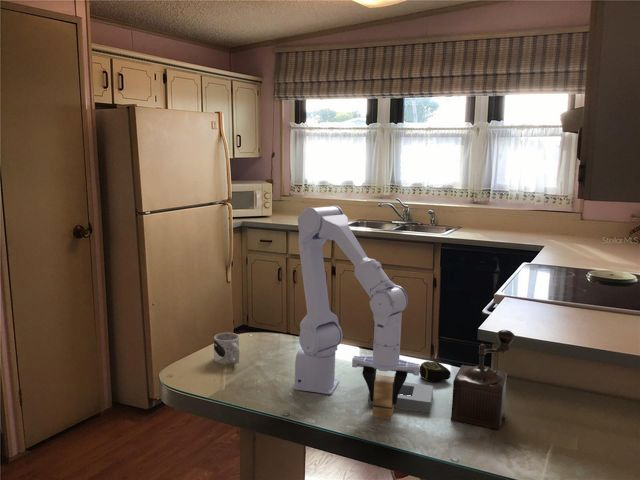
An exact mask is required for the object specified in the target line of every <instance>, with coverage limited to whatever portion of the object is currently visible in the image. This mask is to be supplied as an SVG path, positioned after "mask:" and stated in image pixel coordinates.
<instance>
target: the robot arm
mask: <svg viewBox="0 0 640 480" xmlns="http://www.w3.org/2000/svg"><path fill="white" fill-rule="evenodd" d="M297 226H298V227H297V228H298V240H297V241H298V251H299V258H300V266H301V275H302V281H303V282H302V283H303V289H304V296H305V297H304V298H305V305H306V306H305V307H306V314H305V316H304V317H303V319H302V320H301V322H300V323H299V328H300V332H299V336H298V338H299V339H298V340H299V341H298V342H299V345H300V349H299V348H298V350H297V353H296V355H295V361H294V362H295V363H294V386H293V389H294V390H297V391H304V392H305V391H306V392H310V393H312V392H313V393H316V394H317V393H319V394H324V395H332V394H333V393H334V391H335V389H336V387H337V385H338V384H339V382H340V380H339V379H336V377H335V374H336V371H335V369H336V351H337V350H338V346H340V344H341V342H342V341H343V336H344V335H343V330H342V327H341V326H340V323H339V320H338V319H339V318H338V316H337V315H336V314H335V313H333V312H332V311H331V309H330V301H329V293H328V285H327V284H328V283H327V277H326V276H327V275H326V271H325V269H326V268H325V262H324V255H323V253H324V251H323V246H324V244H325V243H326V242H327V241H328V240H329V241H334V242H335V243H336V244H337V246H338V247H339V249H340V250H341V251H342V252H343V253H344V255H345V256H346V257H347V259H348V260H349V261H350V262H351V263H352V264H353V266H354V271H353V275H354V276H355V278H356V279H357V280H358V282H359V284H360V285H361V286H362V288H363V290H364V291H365V293H367V296H368V297H369V298H370V300H369V307H370V310H371V312H372V314H373V317H372V319H373V321H374V327H373V329H374V331H373V343H372V344H373V345H372V346H373V347H372V350H373V351H372V355H371V356H370V355H369V356H367V355H366V356H364V355H361V356H359V355H354V356H353V357H352V359H351V360H352V361H351V367H352V368H362V373H361V374H362V377H363V379H364V381H365V383H366V386H367V388H368V394H369V393H370V400H371V401H373V400H374V382H375V379H376V377H377V370H378V371H379V372H395V373H394V376H393V377H394V396H393V404H394V405H396V403H397V398H398V394H399V391H400V389H401V387H402V385H403V383H404V382H406V379H407V377H408V374H412V375H413V376H417V377H418V376H420V372H419V371H420V366H421V364H420V363H415V362H410V361H407V360H404V359H400V355H401V349H400V348H401V338H402V337H401V335H402V318H403V316H402V315H403V311H405V309H407V306H408V303H409V298H408V295H407V293H406V291H405V289H404V287H402V286H400V285H398V284H395V282H393V281H392V280H390V278H389V276H388V275H387V274H386V272H385V271H384V269H383V268H382V264H381V262H380V261H377V260H376V259H375V258H369V257H368V256H367V254H366V252H365V251H364V249H363V247H362V245H361V244H360V242H359V241H358V239H357V238H356V236H355V235H354V233H353V231H352V229H351V228H350V226H349V217H348V216H347V215H346V214H345V213H344V211H343V209H342V208H341V207H339V205H334V204H333V205H329V206H319V207H318V206H317V207H311V206H310V207H306V208H304V209H303V210H302V212H301V213H300V214H299V216H298V217H297Z"/></svg>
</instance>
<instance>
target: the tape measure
mask: <svg viewBox="0 0 640 480" xmlns="http://www.w3.org/2000/svg"><path fill="white" fill-rule="evenodd" d="M451 375H452V374H451V370H450V369H448V368H447V367H446V366H444V365H443V364H441V363H440V362H439V361H437V360H435V361H427V360H426V361H423V362H422V363H421V364H420V370H419V376H420V377H421V378H422V379H424V380H426V381H429V382H432V381H433V383H437V382H438V383H439V381H440V382H443V381H446V380H449V379H450V378H451Z"/></svg>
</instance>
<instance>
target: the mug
mask: <svg viewBox="0 0 640 480" xmlns="http://www.w3.org/2000/svg"><path fill="white" fill-rule="evenodd" d="M213 361H214V363H215V364H216V365H220V366H228V365H234V364H235V365H237V364H239V363H240V335H239V334H237V333H233V332H220V333H218V334H214V336H213Z"/></svg>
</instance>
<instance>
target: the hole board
mask: <svg viewBox="0 0 640 480" xmlns="http://www.w3.org/2000/svg"><path fill="white" fill-rule="evenodd" d="M400 394H403V395H400ZM407 395H411V396H407ZM367 396H368V397H367V398H368V400H367V404H368V405H373V401H371V400H370V393H369V392H368V395H367ZM433 396H434V385H429V384H428V385H427V384H422V383H421V384H420V383H414V382H406V381H405V382H404V383H403V385H402V387H401V389H400V391H399V394H398V398H397V403H396V405H394V407H395V408H394V409H400V408H402V410H407V409H408V411H409V410H410V411H413V412H414V411H415V412H422V413H428V414H429V413H430V414H431V409H432V402H433Z"/></svg>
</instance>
